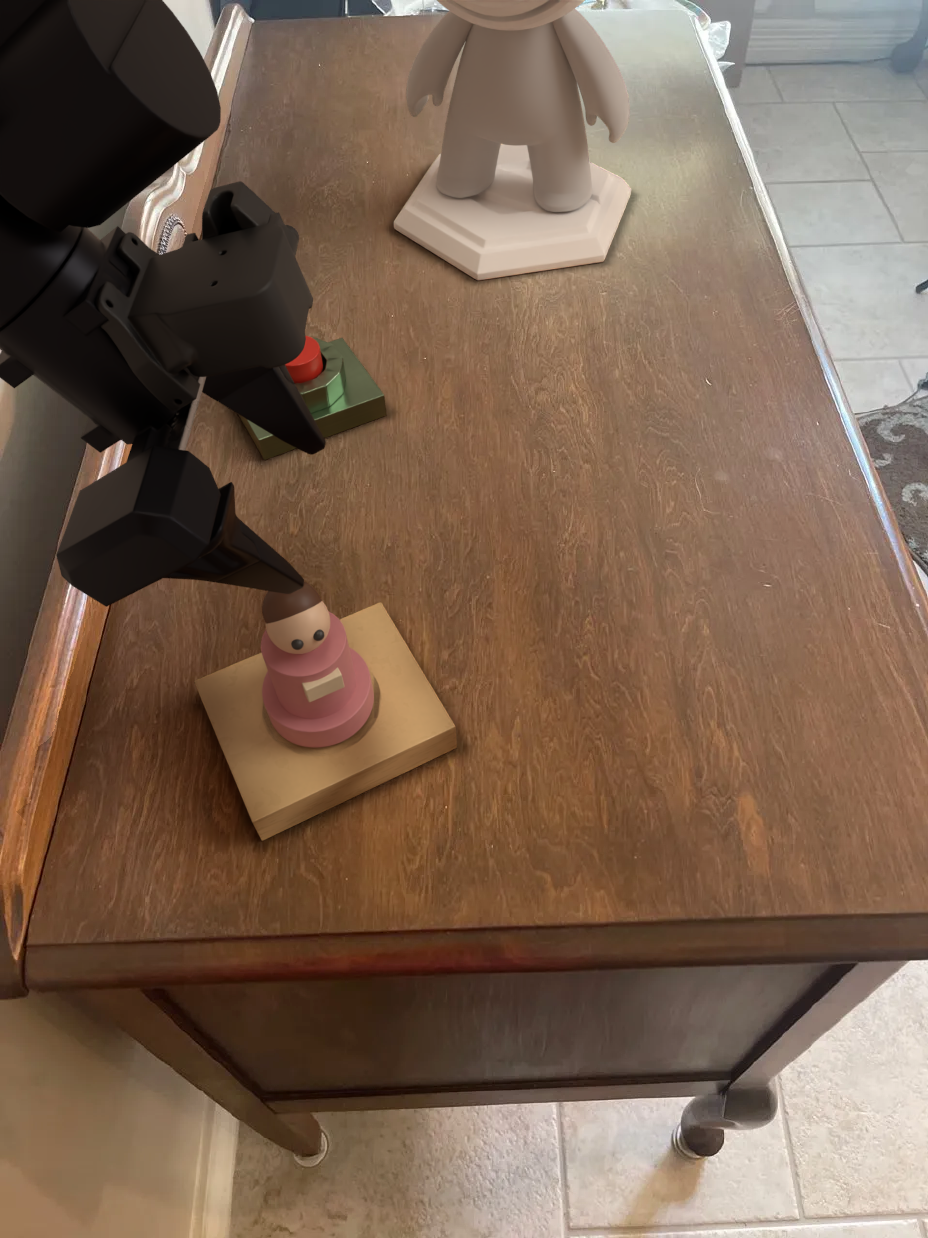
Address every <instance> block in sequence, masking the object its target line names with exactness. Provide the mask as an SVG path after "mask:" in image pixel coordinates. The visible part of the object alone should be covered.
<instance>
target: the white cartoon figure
mask: <svg viewBox="0 0 928 1238" xmlns="http://www.w3.org/2000/svg"><path fill="white" fill-rule="evenodd" d="M585 1H586V0H436V2H438V3H439V4H440V5H441V6H442V7H444V8H445V9H446V10H448V11H447V12H446V13H445V15H444V16H443V17H442V18H441V19H440V20H439V21H438V23H436V25H435V26H434V27H433V28H432V30H431V31H430V33H429V34H428V35H427V36H426V39H425V40H424V42H423V43H422V44H421V46H420V48H419V49H418V51H417V53H416V55H415V57H414V59H413V61H412V64H411V66H410V69H409V71H408V75H407V80H406V88H405V101H406V106H407V110H408V112H409V114H410V116H411V117H412V118H417V117H418V116H419V115H420V114H421V112H422V111H423V110H424V108H425V107H426V105H427V104H428V102H429V97H430V95H431V96H432V104H433V106H434V107H439V106H441V105H442V103H443V101H444V98H445V97H444V96H445V91H446V88H447V85H448V82H449V79H450V76H451V73H452V71H453V69H454V66H455V64H456V61H457V59H458V57H459V55H460V59H459V63H458V67H457V70H456V75H455V78H454V79H455V80H454V84H453V88H452V92H451V97H450V101H449V106H448V110H447V115H446V121H445V126H444V131H443V138H442V145H441V151H440V153H439V154H438V155H437V157H436V158H435V159H434V160H433V162H432V163H431V165H430V166H429V168H428V169H427V171H426V172H425V173H424V175H423V177H422V178H421V179H420V181H419V183H418V184H417V186H416V187H415V189H414V190H413V192H411V195H410V196H409V198H408V199H407V200H406V202H405V204H404V206H403V207H402V208H401V209H400V212H398V214H397V216H396V218H395V219H394V220H393V228H394V230H396V231H397V232H398V233H400V234H402V235H403V236H405V237H407V238H408V239H410V240H411V241H413V242H415V243H416V244H418V245H420V246H421V247H423V248H424V249H426V250H428V251H429V252H430V253H433V254H434V255H436V256H437V257H439V258H441V259H442V260H444V261H446V262H447V263H449V264H450V265H452V266H453V267H455V268H457V269H458V270H460V271H461V272H463V273H464V274H466V275H468V276H470V277H471V278H473V279H475V280H476V281H482V280H490V279H496V278H497V279H498V278H504V277H510V276H516V275H517V276H518V275H524V274H529V273H536V272H544V271H549V270H550V271H551V270H557V269H563V268H570V267H571V268H572V267H577V266H583V265H589V264H596V263H597V264H598V263H603V262H604V261H605V260H606V258H607V256H608V255H607V254H608V252H609V251H610V247H611V244H612V243H613V240H614V237H615V235H616V233H617V230H618V227H619V226H620V224H621V223H620V222H621V220H622V219H623V215H624V212H625V210H626V208H627V206H628V202H629V200H630V198H631V196H632V188H631V186H630V185H629V184H628V183H627V182H626V180H625V179H624V178H623V177H621V176H619V175H618V174H616V173H613V172H612V171H610V170H607V169H606V168H603V167H601V166H600V165H597V164H595V163H593V162H592V161H590V153H589V144H588V137H587V131H586V124H585V122H586V123H587V125H588V126H590V127H593V126H595V124H596V123H597V120H598V119H597V118H599V120H601V122H602V123H603V124H604V125H605V126H606V128H607V130H608V141H609V143H612V144H615V143H618V141H620V140H621V138H622V137H623V136H624V134H625V132H626V130H627V128H628V126H629V123H630V117H631V104H630V103H631V102H630V96H629V91H628V87H627V84H626V82H625V79H624V76H623V74H622V72H621V70H620V68H619V66H618V64H617V62H616V60H615V58H614V56H613V55H612V53H611V52H610V50H609V48H608V47H607V45H606V43H605V42H604V40H603V39H602V37H601V36H600V34H599V33H598V32H597V31H596V29H595V28H594V26H593V25H592V24H591V23H590V22H589V21H588V20H587V19H586V17H585V16H584V15H583V14H582V13H581V12H579V11H578V10H577V9H576V8H578V7H579V6H580V5H582V4H583V3H584V2H585ZM461 51H462V52H461ZM460 53H461V54H460ZM580 95H581V96H580ZM581 98H582V100H581ZM581 101H582V102H583V106H584V112H583V106H582V102H581ZM584 113H585V114H584ZM584 115H585V119H584Z"/></svg>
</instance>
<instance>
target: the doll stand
mask: <svg viewBox="0 0 928 1238" xmlns="http://www.w3.org/2000/svg"><path fill="white" fill-rule="evenodd" d="M338 619H339V620H340V621H341V622H342V624H343V626H344V628H345V631H346V636H347V640H348V645H349V647H350V648H352V649H353V650H355V651H356V652H357V653H358V654H359V655H360V656H361V657H362V658H363V659H364V661H365V662H366V664H367V666H368V669H369V672H370V676H371V681H372V686H373V692H374V702H373V708H372V710H371V713H370V715H369V717H368V719H367V721H366V722H365V724H364V725H363V726H362V727H361V728H360V729H359V730H358V731H357V732H356V733H355V734H354V735H352V736H351V737H349V738H348V739H346V740H344V741H342V742H340V743H337V744H335V745H331V746H326V747H316V748H313V747H305V746H300V745H297V744H294V743H292V742H290V741H288V740H287V739H285V738H284V737H282V736H281V735H280V734H279V733H278V732H277V731H276V729H275V728H274V726H273V725H272V723H271V720H270V718H269V715H268V713H267V710H266V708H265V705H264V702H263V697H262V686H263V681H264V678H265V676H266V673H267V671H268V669H267V667H266V664H265V661H264V658H263V656H262V652H259V653H257V654H254V655H252V656H250V657H247V658H245V659H243V660H239V661H238V662H236V663H233V664H231V665H228V666H226V667H224V668H221V669H219V670H217V671H214V672H212V673H210V674H207V675H204V676H203V677H200V678H197V679H195V680H194V681H193V683H194V685H195V688H196V690H197V692H198V695H199V698H200V700H201V702H202V704H203V707H204V709H205V712H206V714H207V717H208V719H209V721H210V724H211V726H212V728H213V731H214V734H215V736H216V739H217V741H218V744H219V746H220V749H221V750H222V751H221V752H222V753H223V755H224V758H225V760H226V762H227V766H228V767H229V770H230V772H231V774H232V777H233V779H234V781H235V784H236V786H237V789H238V791H239V794H240V796H241V799H242V801H243V804H244V806H245V809H246V811H247V814H248V817H249V818H250V820H251V823H252V824H253V826H254V827H253V828H255V830H256V833H257V835H258V836H259V838H260V840H261V841H262V842H263V841H265V840H268V839H269V838H272V837H274V836H276V835H277V834H279V833H283V832H284V831H286V830H288V829H290V828H292V827H294V826H296V825H299V824H300V823H303V822H304V821H307V820H309V819H311V818H313V817H315V816H318V815H319V814H321V813H323V812H325V811H328V810H330V809H332V808H334V807H336V806H338V805H340V804H342V803H345V802H346V801H349V800H351V799H354V798H355V797H357V796H359V795H361V794H363V793H366V792H367V791H370V790H373V789H374V788H376V787H377V786H380V785H382V784H385V783H387V782H389V781H390V780H393V779H395V778H397V777H398V776H401V775H403V774H405V773H408V772H409V771H411V770H414V769H415V768H418V767H420V766H421V765H424V764H426V763H428V762H430V761H433V760H435V759H436V758H438V757H441V756H442V755H443V756H444V754H447V753H449V752H451V751H454V750H455V749H457V745H458V744H457V729H456V725H455V723H454V721H453V719H452V718H451V716H450V715H449V713H448V711H447V710H446V708H445V706H444V705H443V703H442V701H441V700H440V699H439V697H438V695H437V693H436V691H435V689H434V688H433V686H432V685H431V683H430V681H429V680H428V677H427V676H426V675H425V673H424V672H423V669H422V668H421V666H420V665H419V663H418V661H417V659H416V658H415V657H414V655H413V653H412V651H411V650H410V648H409V646H408V644H407V642H406V641H405V640H404V638H403V636H402V634H401V633H400V631H399V629H398V628H397V626H396V625H395V623H394V621H393V619H392V618H391V616H390V615H389V613H388V611H387V609H386V608H385V606H384V604H383V602H381V601H379V602H377V603H375V604H373V605H370V606H368V607H366V608H363V609H361V610H358V611H356V612H353V613H351V614H349V615H347V616H344V617H342V618H338Z"/></svg>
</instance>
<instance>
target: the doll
mask: <svg viewBox="0 0 928 1238" xmlns="http://www.w3.org/2000/svg"><path fill="white" fill-rule="evenodd" d="M261 614H262V618H263V621H264V623H265V630H264V632H263V634H262V637H261V640H260V641H261V642H260V651H261V652H262V656H263V658H264V661H265V664H266V667H267V669H268V671H267V673H266V676H265V678H264V681H263V686H262V697H263V702H264V705H265V708H266V710H267V713H268V715H269V718H270V720H271V723H272V725H273V726H274V728H275V729H276V731H277V732H278V733H279V734H280V735H281V736H282V737H284V738H285V739H287V740H288V741H290V742H292V743H294V744H297V745H300V746H305V747H313V748H316V747H326V746H331V745H335V744H337V743H340V742H342V741H344V740H346V739H348V738H349V737H351V736H352V735H354V734H355V733H356V732H357V731H358V730H359V729H360V728H361V727H362V726H363V725H364V724H365V722H366V721H367V719H368V717H369V715H370V713H371V710H372V708H373V702H374V692H373V686H372V681H371V676H370V672H369V669H368V666H367V664H366V662H365V661H364V659H363V658H362V657H361V656H360V655H359V654H358V653H357V652H356V651H355V650H353V649H352V648H350V647H349V645H348V640H347V636H346V631H345V628H344V626H343V624H342V622H341V621H340V620H339V619H340V618H339V617H338V616H337V615H335V614H334V613H332V611H331V612H330V611H329V609H328V607H327V605H326V604H325V602H324V601H323V600H322V598H321V596H320V593H319V592H318V590H317V589H316V588H315V587H314V586H313V585H312V584H310V583H308V582H306V581H304V586H303V588H301V589H299V590H297V591H295V592H293V593H290V594H284V593H278V592H272V591H266V593H265V595H264V596H263V599H262V604H261ZM261 652H260V653H261Z"/></svg>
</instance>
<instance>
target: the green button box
mask: <svg viewBox="0 0 928 1238" xmlns="http://www.w3.org/2000/svg"><path fill="white" fill-rule="evenodd" d="M312 338H313V339H315V340H316V341H317V342H318V344H319V346H320V352H321V357H322V362H323V369H322V372H321V374H320V375H319V376H318V377H317V378H315V379H312V380H309V381H306V382H303V383H295V385H296V387H297V389H298V390H299V392H300V394H301V396H302V398H303V400H304V402H305V403H306V405H307V407H308V409H309V411H310V413H311V414H312V416H313V418H314V420H315V422H316V424H317V426H318V427H319V429H320V431H321V433H322V435H323V437H324V439H325V438H329V437H331V436H334V435H337V434H339V433H342V432H345V431H347V430H350V429H353V428H356V427H358V426H361V425H364V424H367V423H369V422H372V421H375V420H377V419H380V418H384V417H387V415H388V413H387V405H386V397H385V394H384V393H383V391H382V389H381V388H380V387H379V385H378V384H377V383H376V382H375V380H374V379H373V377H372V375H371V374H370V373H369V372H368V370H367V369H366V368H365V367H364V365H363V364H362V362H361V361H360V359H359V358H358V356H357V355H356V354H355V352H354V351H353V350H352V349H351V347H350V346H349V344H348V343H347V342H346V340H345V339H344V338H343V337H340V338H336V339H334V340H330V341H326V340H324V339H321V338H318V337H312ZM237 415H238V416H239V418H240V421H241V422H242V424H243V425H244V427H245V429H246V431H247V433H248V434H249V436H250V437H251V439H252V441H253V443H254V445H255V446H256V448H257V450H258V452H259V453H260V456H261V457H262V459H263V460H264V461H265V460H268V459H269V460H270V459H272V458H274V457H277V456H279V455H282V454H285V453H287V452H291V451H293V450H296V449H297V448H295V447H293V446H291V445H289V444H287V443H285V442H284V441H282V440H280V439H279V438H277V437H275V436H274V435H272V434H270V433H269V432H267V431H265V430H264V429H262V428H260V427H259V426H257V425H256V424H254V423H252V422H251V421H249V420H247V419H246V418H244V417H242V416H241V415H239V414H237Z"/></svg>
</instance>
